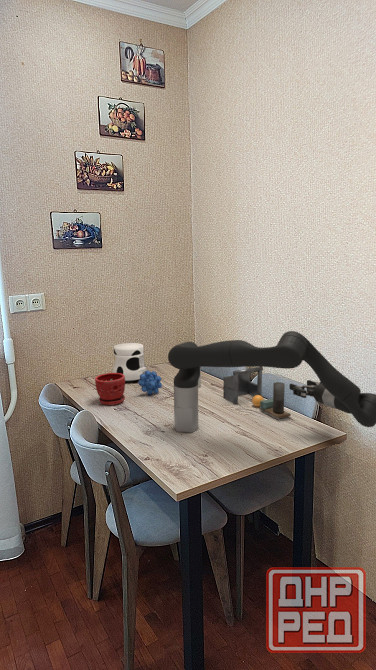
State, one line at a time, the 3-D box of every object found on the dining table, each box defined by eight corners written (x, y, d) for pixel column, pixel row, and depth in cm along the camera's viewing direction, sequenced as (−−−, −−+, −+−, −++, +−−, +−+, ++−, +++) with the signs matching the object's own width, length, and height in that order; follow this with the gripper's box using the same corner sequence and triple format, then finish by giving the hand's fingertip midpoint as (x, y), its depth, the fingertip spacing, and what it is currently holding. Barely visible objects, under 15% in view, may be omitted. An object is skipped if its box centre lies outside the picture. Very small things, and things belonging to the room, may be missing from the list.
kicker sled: (290, 415, 182) (291, 385, 179) (278, 418, 179) (279, 387, 176) (271, 406, 192) (272, 377, 190) (260, 409, 189) (260, 379, 187)
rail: (291, 419, 181) (291, 417, 181) (281, 421, 179) (281, 419, 178) (268, 408, 193) (269, 406, 193) (259, 410, 191) (259, 409, 190)
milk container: (111, 376, 243) (109, 343, 240) (142, 373, 248) (141, 341, 245) (115, 385, 227) (114, 350, 223) (149, 382, 232) (148, 348, 228)
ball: (263, 408, 193) (264, 397, 192) (251, 408, 194) (252, 397, 193) (263, 404, 198) (263, 393, 197) (252, 404, 198) (252, 393, 197)
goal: (262, 399, 205) (263, 367, 202) (235, 404, 198) (235, 371, 195) (249, 392, 213) (249, 362, 210) (222, 398, 206) (222, 366, 203)
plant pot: (112, 395, 212) (111, 370, 210) (131, 401, 204) (130, 375, 202) (90, 402, 203) (88, 377, 200) (109, 409, 194) (108, 382, 192)
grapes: (142, 399, 206) (141, 374, 204) (137, 395, 212) (136, 370, 210) (165, 395, 211) (165, 370, 209) (160, 391, 217) (159, 367, 215)
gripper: (346, 382, 160) (313, 371, 174) (316, 389, 153) (284, 377, 167) (345, 402, 161) (312, 390, 175) (315, 410, 154) (284, 397, 168)
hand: (298, 384), depth 171 cm, fingers open, 8 cm apart
